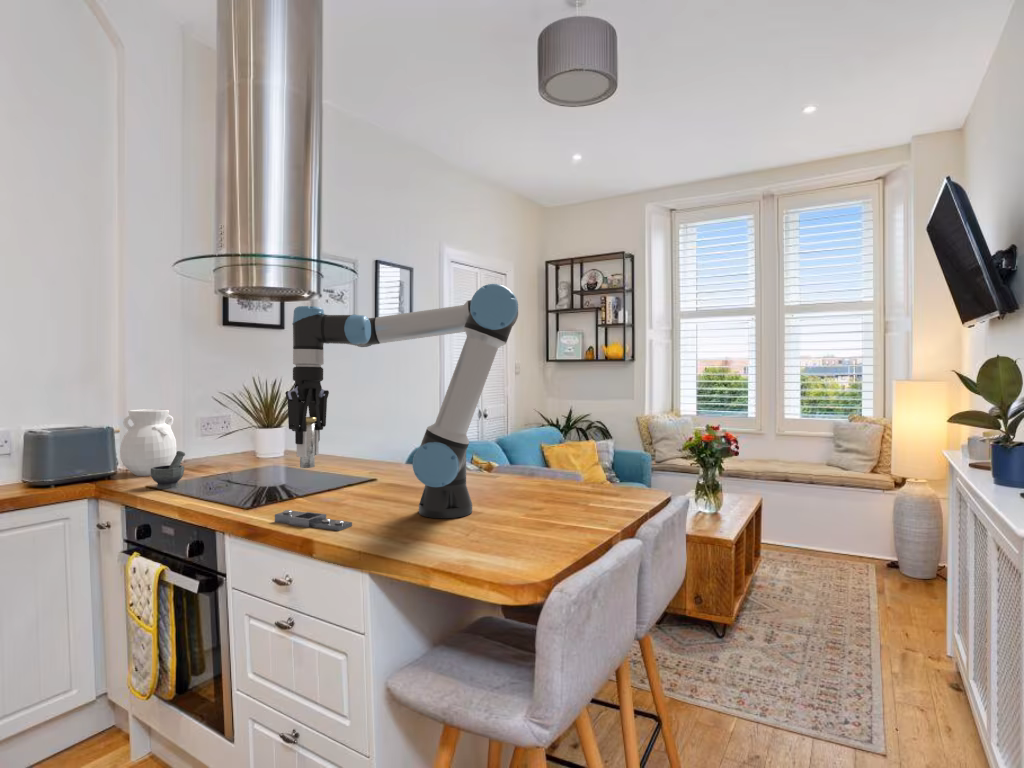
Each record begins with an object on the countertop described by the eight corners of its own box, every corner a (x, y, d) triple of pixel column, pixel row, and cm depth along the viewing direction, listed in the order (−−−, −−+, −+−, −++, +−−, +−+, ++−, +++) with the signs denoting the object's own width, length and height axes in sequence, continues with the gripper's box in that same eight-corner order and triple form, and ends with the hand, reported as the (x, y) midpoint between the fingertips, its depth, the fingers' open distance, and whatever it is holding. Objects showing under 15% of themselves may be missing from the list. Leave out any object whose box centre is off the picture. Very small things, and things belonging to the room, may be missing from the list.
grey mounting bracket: (353, 525, 146) (353, 515, 146) (337, 531, 140) (337, 521, 140) (290, 517, 154) (290, 507, 154) (272, 522, 148) (272, 512, 148)
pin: (319, 466, 149) (320, 417, 149) (307, 468, 145) (308, 418, 144) (306, 465, 150) (307, 416, 150) (294, 467, 146) (294, 417, 146)
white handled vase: (164, 468, 233) (163, 407, 232) (185, 472, 222) (185, 409, 222) (111, 474, 217) (111, 410, 217) (132, 480, 207) (131, 411, 206)
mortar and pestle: (163, 490, 188) (163, 454, 188) (144, 488, 191) (144, 453, 191) (193, 485, 198) (193, 450, 198) (174, 483, 202) (174, 449, 201)
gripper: (319, 366, 156) (318, 450, 157) (272, 365, 141) (271, 458, 141) (341, 366, 153) (340, 452, 154) (295, 365, 138) (295, 460, 138)
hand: (307, 455), depth 148 cm, fingers closed on pin, 3 cm apart
